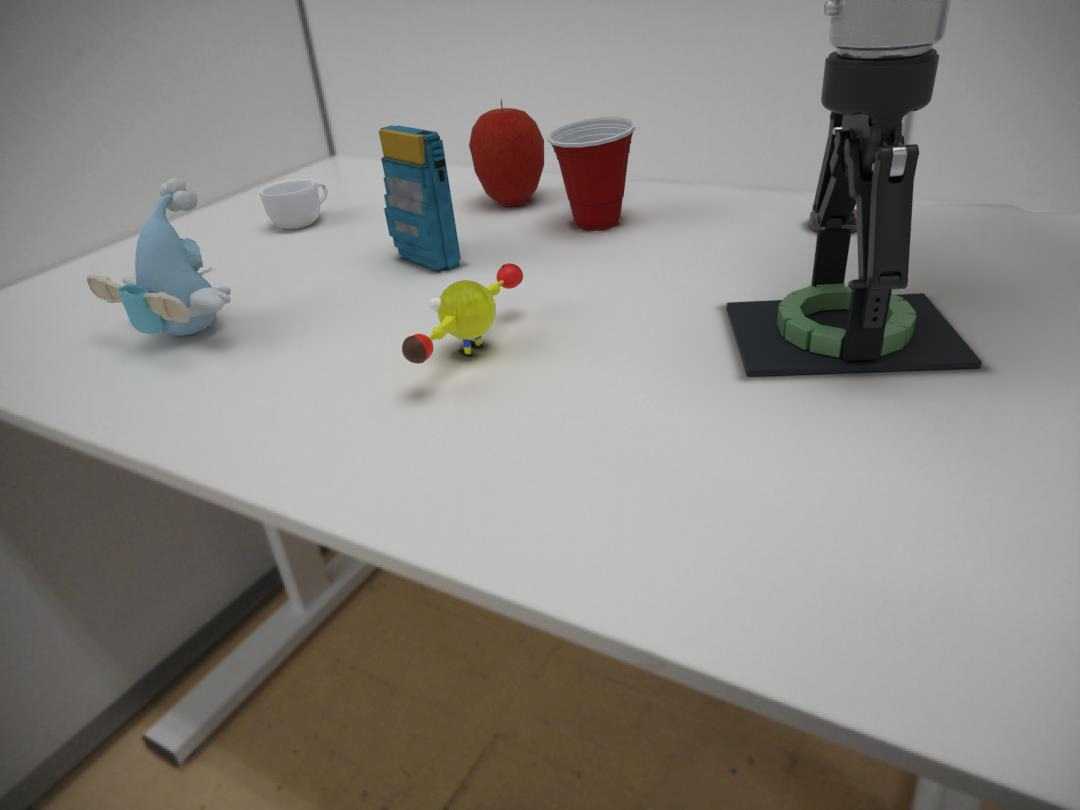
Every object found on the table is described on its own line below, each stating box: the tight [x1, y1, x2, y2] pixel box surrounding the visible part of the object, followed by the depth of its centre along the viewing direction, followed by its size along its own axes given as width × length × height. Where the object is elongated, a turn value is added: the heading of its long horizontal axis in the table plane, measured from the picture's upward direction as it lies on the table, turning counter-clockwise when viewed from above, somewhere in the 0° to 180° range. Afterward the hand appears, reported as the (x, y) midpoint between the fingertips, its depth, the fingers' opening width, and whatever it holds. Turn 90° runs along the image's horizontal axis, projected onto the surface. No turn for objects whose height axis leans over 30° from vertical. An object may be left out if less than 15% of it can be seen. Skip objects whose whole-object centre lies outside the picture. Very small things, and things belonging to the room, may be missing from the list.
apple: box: [468, 98, 545, 208], centre depth 102 cm, size 10×10×14 cm
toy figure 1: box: [86, 177, 232, 337], centre depth 74 cm, size 17×10×15 cm, turn 57°
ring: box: [777, 283, 916, 358], centre depth 64 cm, size 11×11×2 cm
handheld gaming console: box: [378, 124, 462, 273], centre depth 85 cm, size 10×4×15 cm, turn 43°
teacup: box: [258, 178, 328, 230], centre depth 105 cm, size 10×8×5 cm
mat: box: [726, 292, 983, 377], centre depth 65 cm, size 18×13×1 cm
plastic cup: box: [546, 115, 637, 231], centre depth 92 cm, size 11×11×12 cm
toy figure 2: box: [401, 262, 524, 365], centre depth 67 cm, size 18×6×7 cm, turn 152°
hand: (841, 325), depth 65 cm, fingers closed on ring, 11 cm apart
